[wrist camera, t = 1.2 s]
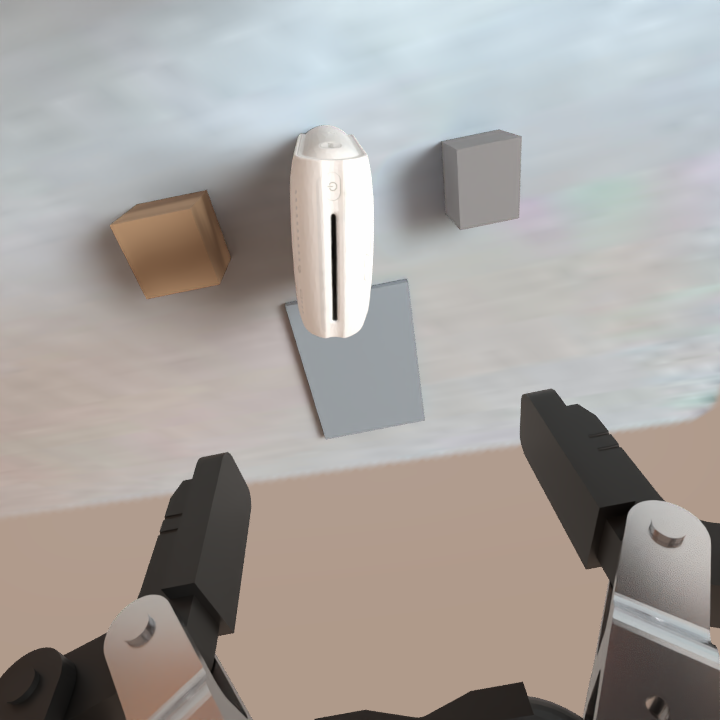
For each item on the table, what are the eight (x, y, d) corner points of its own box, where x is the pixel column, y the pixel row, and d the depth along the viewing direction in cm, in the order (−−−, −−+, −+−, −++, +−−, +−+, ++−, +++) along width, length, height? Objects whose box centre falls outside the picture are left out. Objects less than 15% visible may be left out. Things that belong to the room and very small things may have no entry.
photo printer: (292, 122, 28) (280, 151, 18) (358, 122, 29) (383, 151, 18) (301, 271, 34) (296, 357, 24) (355, 270, 34) (374, 355, 24)
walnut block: (137, 204, 30) (109, 225, 26) (207, 189, 30) (190, 208, 26) (167, 270, 33) (146, 299, 29) (231, 257, 33) (219, 284, 29)
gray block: (440, 141, 30) (456, 149, 27) (498, 129, 30) (521, 136, 27) (445, 213, 33) (460, 229, 29) (498, 203, 33) (519, 218, 29)
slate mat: (285, 303, 35) (285, 306, 35) (406, 278, 35) (407, 281, 35) (325, 435, 44) (325, 439, 43) (423, 416, 44) (424, 420, 43)
